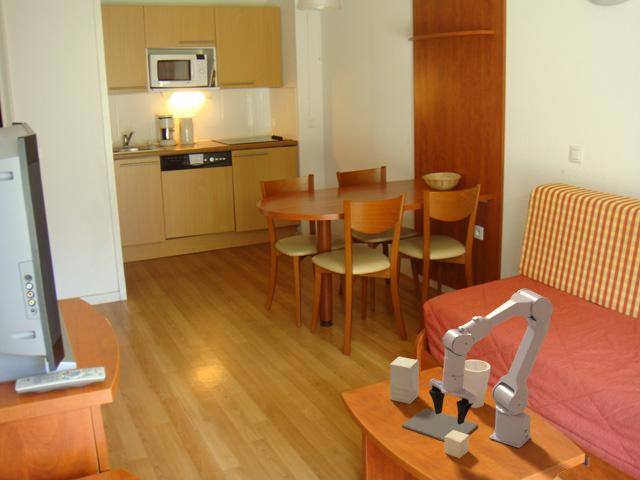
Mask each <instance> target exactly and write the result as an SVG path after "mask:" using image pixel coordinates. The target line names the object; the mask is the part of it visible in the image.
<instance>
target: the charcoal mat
mask: <svg viewBox="0 0 640 480" xmlns="http://www.w3.org/2000/svg"><path fill="white" fill-rule="evenodd" d="M457 418H458V417H457V416H453V415H450V414H446V413H443V412H442V413H440V414H438V415H437V414H435V409H432V408H427V407H426V408H424V409H422V410H421V411H419V412H418V413H416V414H415V415H414V416H411V418H410V419H408V420H406V421H405V422H404V423H402V424H401V427H402V428H405V429H407V430H410V431H413V432H416V433H418V434H419V433H420V434H422V435H425V436H427V437H430V438H433V439H436V440H439V441H442V442H444V437H445V436H446V435H447V434H449V433H450V432H451V431H452V430H455V431H458V432H461V433H464V434H467V435H470V434H471V433H472V432H473V431H474V430H476V429H477V427H478V426H479V425H478V423H475V422H472V421H468V420H466V419H465V420H464V423H462V424H460V425H459V424H458V423H457Z"/></svg>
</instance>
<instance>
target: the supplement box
mask: <svg viewBox="0 0 640 480" xmlns="http://www.w3.org/2000/svg"><path fill="white" fill-rule="evenodd" d="M419 365H420V364H419V359H414V358H410V357H409V358H408V357H403V356H398V357H396V358H395V359H394V360H393V361H392V362H391V363H390V364H389V400H391V401H394V402H395V401H396V402H399V403H405V404H409V405H411V403H413V402H414V401H415V400H416V399H417V397H419V381H420V379H419V374H420V373H419V371H420V369H419Z"/></svg>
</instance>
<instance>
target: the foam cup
mask: <svg viewBox="0 0 640 480" xmlns="http://www.w3.org/2000/svg"><path fill="white" fill-rule="evenodd" d="M490 375H491V364H490V363H488V362H487V361H484V360H480V359H467V360H465V370H464V381H463V388H465V389H466V390H467V391H469V392H470V393H472V394H474V395H476V402H474V403H473V405H472V406H471V408H473V409H474V408H475V409H477V408H481V407H483V406H484V405H485V399H486V394H487V391H488V390H487V389H488V382H489V378H490Z"/></svg>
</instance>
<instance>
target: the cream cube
mask: <svg viewBox="0 0 640 480" xmlns="http://www.w3.org/2000/svg"><path fill="white" fill-rule="evenodd" d="M443 442H444V444H443V445H444V446H443V453H444V454H447V455H449V456H452V457H455V458H458V459H462V458H463V457H464V455H466V454H467V453H468V452H469V447H470V434H468V435H467V434H464V433H461V432H458V431H455V430H452V431H451V432H450V433H449V434H447V435H446V436H445V437H444V441H443Z"/></svg>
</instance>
